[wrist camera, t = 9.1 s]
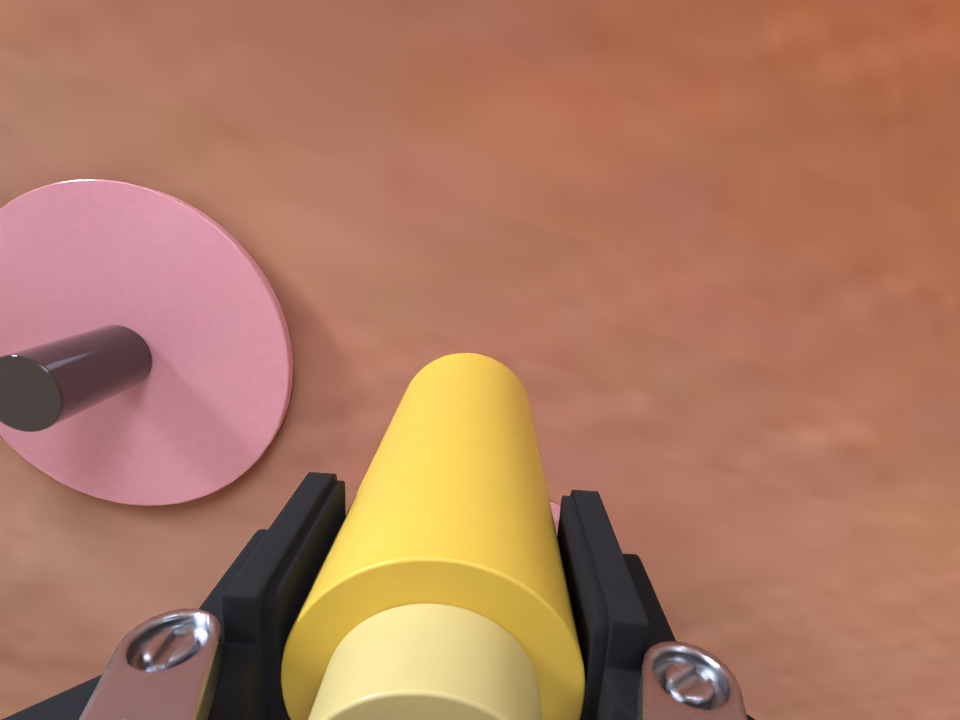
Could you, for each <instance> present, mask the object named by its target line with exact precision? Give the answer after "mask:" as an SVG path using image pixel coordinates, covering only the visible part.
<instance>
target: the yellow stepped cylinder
mask: <svg viewBox="0 0 960 720" xmlns="http://www.w3.org/2000/svg"><path fill="white" fill-rule="evenodd" d="M585 685H586V680H585V670H584V663H583V658H582V654H581V649H580V644H579V639H578V634H577V629H576V625H575V620H574V615H573V610H572V605H571V600H570V596H569V591H568V586H567V581H566V576H565V571H564V567H563V562H562V557H561V552H560V547H559V542H558V538H557V533H556V528H555V523H554V518H553V513H552V509H551V504H550V499H549V494H548V489H547V484H546V480H545V475H544V470H543V465H542V460H541V455H540V451H539V446H538V441H537V436H536V431H535V426H534V422H533V417H532V412H531V407H530V403H529V399H528V395H527V393H526V391H525V388H524V387H523V385H522V383H521V381H520V380H519V379H518V378H517V376H516V375H515V374H514V373H513V372H512V371H511V370H510V369H509V368H507V367H506V366H505V365H503V364H502V363H500V362H498V361H496V360H494V359H492V358H489V357H487V356H483V355H479V354H472V353H459V354H452V355H448V356H444V357H442V358H439V359H437V360H435V361H433V362H431V363H430V364H428V365H427V366H425V367H424V368H423V369H422V370H421V371H420V372H419V373H418V374H417V375H416V376H415V377H414V379H413V380H412V381H411V383H410V385H409V386H408V388H407V390H406V392H405V394H404V396H403V399H402V401H401V403H400V405H399V407H398V409H397V411H396V413H395V415H394V417H393V419H392V421H391V423H390V425H389V427H388V430H387V432H386V434H385V436H384V438H383V440H382V442H381V444H380V446H379V448H378V450H377V452H376V454H375V456H374V458H373V461H372V463H371V465H370V467H369V469H368V471H367V473H366V475H365V477H364V479H363V481H362V483H361V485H360V487H359V490H358V492H357V494H356V496H355V498H354V500H353V502H352V504H351V506H350V508H349V510H348V512H347V514H346V516H345V518H344V521H343V523H342V525H341V527H340V529H339V531H338V533H337V535H336V537H335V539H334V541H333V543H332V545H331V547H330V549H329V552H328V554H327V556H326V558H325V560H324V562H323V564H322V566H321V568H320V570H319V572H318V574H317V576H316V578H315V581H314V583H313V585H312V587H311V589H310V591H309V593H308V595H307V597H306V599H305V601H304V603H303V605H302V607H301V609H300V612H299V614H298V616H297V618H296V620H295V622H294V624H293V626H292V628H291V630H290V633H289V635H288V638H287V640H286V643H285V646H284V650H283V655H282V660H281V688H282V696H283V700H284V703H285V707H286V710H287V713H288V715H289V717H290V720H579V719H580V717H581V713H582V709H583V703H584V696H585Z"/></svg>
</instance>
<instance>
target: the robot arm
mask: <svg viewBox="0 0 960 720" xmlns="http://www.w3.org/2000/svg"><path fill="white" fill-rule="evenodd" d="M344 518H345V482H344V481H337V476H336V474H330V473H315V472H309V473H308V474H307V476H306V477H305V478H304V480H303V481H302V483H301V484H300V485H299V487H298V488H297V490H296V491H295V492H294V494H293V495H292V497H291V498H290V500H289V501H288V502H287V504H286V505H285V507H284V508H283V509H282V511H281V512H280V514H279V515H278V516H277V518H276V519H275V521H274V522H273V523H272V525H271V526H270V528H269V529H268V530H265V529H261V530H258V531H257V532H256V533H255V534H254V535H253V537H252V538H251V539H250V541H249V542H248V543H247V545H246V546H245V548H244V549H243V550H242V552H241V553H240V554H239V556H238V557H237V558H236V560H235V561H234V562H233V564H232V565H231V566H230V568H229V569H228V570H227V572H226V573H225V574H224V576H223V577H222V579H221V580H220V581H219V583H218V584H217V585H216V587H215V588H214V589H213V591H212V592H211V593H210V595H209V596H208V597H207V599H206V600H205V601H204V603H203V604H202V605H201V607H200V608H199V609H179V610H174V611H169V612H166V613H163V614H160V615H158V616H155V617H152V618H150V619H149V620H147V621H145V622H143V623H142V624H140V625H138V626H137V627H135V628H134V629H133V630H132V631H131V632H129V633H128V634H127V635H126V636H125V637H124V638H123V640H122V641H121V642H120V644H119V645H118V646H117V648H116V650H115V652H114V654H113V656H112V657H111V659H110V661H109V663H108V665H107V667H106V669H105V671H104V673H103V674H102V675H100V676H98V677H96V678H93V679H91V680H89V681H87V682H84V683H82V684H80V685H78V686H76V687H73V688H71V689H69V690H67V691H64V692H62V693H60V694H58V695H55V696H53V697H51V698H49V699H47V700H44V701H42V702H40V703H38V704H35V705H33V706H31V707H29V708H26V709H24V710H22V711H20V712H18V713H15V714H13V715H11V716H9V717H6V718H4V719H2V720H290V717H289V715H288V713H287V710H286V707H285V703H284V700H283V696H282V688H281V660H282V655H283V650H284V646H285V643H286V640H287V638H288V635H289V633H290V630H291V628H292V626H293V624H294V622H295V620H296V618H297V616H298V614H299V612H300V609H301V607H302V605H303V603H304V601H305V599H306V597H307V595H308V593H309V591H310V589H311V587H312V585H313V583H314V581H315V578H316V576H317V574H318V572H319V570H320V568H321V566H322V564H323V562H324V560H325V558H326V556H327V554H328V552H329V549H330V547H331V545H332V543H333V541H334V539H335V537H336V535H337V533H338V531H339V529H340V527H341V525H342V523H343V521H344ZM557 538H558V542H559V547H560V552H561V557H562V562H563V567H564V571H565V576H566V581H567V586H568V591H569V596H570V600H571V605H572V610H573V615H574V620H575V625H576V629H577V634H578V639H579V644H580V649H581V654H582V658H583V663H584V670H585V680H586V685H585V696H584V703H583V709H582V713H581V717H580V719H579V720H755V719H753V718H752V717H750V716H749V715H747V714H746V710H745V706H744V702H743V697H742V693H741V689H740V687H739V685H738V682H737V680H736V678H735V676H734V675H733V674H732V673H731V671H730V670H729V669H728V667H727V666H726V665H725V664H723V663H722V662H721V661H720V660H719V659H717V658H716V657H715V656H714V655H712V654H710V653H708V652H707V651H705V650H703V649H701V648H699V647H696V646H693V645H690V644H687V643H682V642H676V640H675V638H674V636H673V633H672V631H671V629H670V626H669V624H668V622H667V620H666V617H665V615H664V613H663V610H662V608H661V606H660V603H659V601H658V599H657V596H656V594H655V592H654V590H653V587H652V585H651V583H650V580H649V578H648V576H647V573H646V571H645V569H644V566H643V564H642V562H641V560H640V558H639V557H638V556H637V555H635V554H622V552H621V549H620V547H619V544H618V542H617V539H616V536H615V534H614V531H613V529H612V526H611V523H610V521H609V518H608V516H607V513H606V510H605V508H604V505H603V503H602V500H601V498H600V495H599V493H598V492H597V491H583V490H572V491H571V495H570V496H562V499H561V507H560V516H559V524H558V533H557Z"/></svg>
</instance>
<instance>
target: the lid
mask: <svg viewBox="0 0 960 720" xmlns="http://www.w3.org/2000/svg"><path fill="white" fill-rule="evenodd" d="M292 381H293V357H292V347H291V340H290V336H289V332H288V327H287V323H286V320H285V317H284V314H283V312H282V309H281V306H280V304H279V301H278V299H277V297H276V295H275V293H274V291H273V289H272V287H271V285H270V283H269V281H268V280H267V278H266V277H265V275H264V274H263V272H262V271H261V269H260V268H259V266H258V265H257V263H256V262H255V260H254V259H253V258H252V257H251V256H250V255H249V253H248V252H247V251H246V250H245V249H244V248H243V247H242V245H241V244H240V243H239V242H238V241H237V240H236V239H235V238H234V237H233V236H232V235H230V234H229V233H228V232H227V231H226V230H225V229H224V228H223V227H222V226H221V225H219V224H218V223H216V222H215V221H214V220H212V219H211V218H210V217H208V216H207V215H205V214H204V213H203V212H201V211H200V210H198V209H196V208H194V207H193V206H191V205H189V204H187V203H185V202H184V201H182V200H180V199H178V198H176V197H173V196H171V195H168V194H166V193H163V192H161V191H158V190H156V189H152V188H148V187H145V186H141V185H137V184H134V183H127V182H119V181H112V180H103V179H78V180H71V181H64V182H57V183H53V184H50V185H46V186H43V187H40V188H37V189H34V190H31V191H29V192H27V193H25V194H23V195H21V196H19V197H17V198H15V199H13V200H12V201H10V202H9V203H8V204H6V205H5V206H3V207H2V208H1V209H0V436H1V437H2V438H3V439H4V440H5V441H6V442H7V443H8V444H9V445H10V446H11V447H12V448H13V449H14V450H15V451H16V452H17V453H18V454H19V455H20V456H22V457H23V458H24V459H25V460H27V461H28V462H29V463H31V464H32V465H33V466H35V467H36V468H37V469H39V470H40V471H42V472H43V473H45V474H46V475H48V476H50V477H51V478H53V479H55V480H56V481H58V482H60V483H62V484H64V485H66V486H68V487H70V488H73V489H75V490H77V491H79V492H82V493H85V494H88V495H90V496H93V497H96V498H99V499H104V500H108V501H112V502H116V503H122V504H131V505H139V506H160V505H169V504H177V503H182V502H186V501H190V500H194V499H198V498H201V497H203V496H206V495H208V494H211V493H213V492H216V491H218V490H219V489H221V488H223V487H225V486H227V485H228V484H230V483H232V482H233V481H234V480H236V479H237V478H238V477H240V476H241V475H242V474H244V473H245V472H246V471H247V470H248V469H249V468H250V467H251V466H252V465H253V464H254V463H255V462H256V461H257V460H258V459H259V458H260V457H261V456H262V455H263V454H264V452H265V451H266V449H267V448H268V447H269V445H270V444H271V442H272V441H273V440H274V438H275V436H276V434H277V432H278V430H279V428H280V426H281V424H282V422H283V420H284V417H285V414H286V411H287V408H288V405H289V400H290V395H291V389H292Z"/></svg>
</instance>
